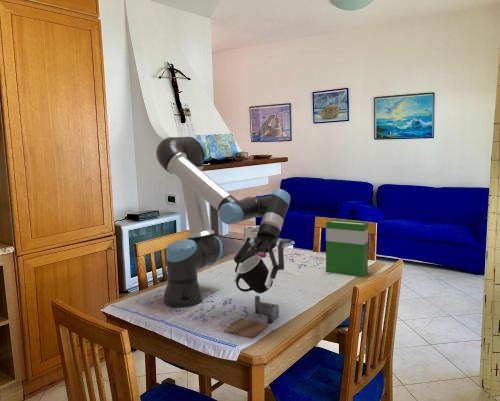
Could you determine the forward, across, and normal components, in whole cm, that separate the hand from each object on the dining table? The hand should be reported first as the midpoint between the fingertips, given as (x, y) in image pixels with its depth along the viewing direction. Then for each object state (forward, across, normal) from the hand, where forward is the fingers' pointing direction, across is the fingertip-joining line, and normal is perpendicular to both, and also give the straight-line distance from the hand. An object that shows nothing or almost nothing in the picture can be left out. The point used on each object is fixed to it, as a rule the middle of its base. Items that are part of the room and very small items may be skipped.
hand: (251, 284), depth 146 cm
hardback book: (-40, -13, -64) cm, 76 cm away
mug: (-1, -2, -5) cm, 6 cm away
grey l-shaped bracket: (+3, +1, -20) cm, 20 cm away
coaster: (+11, +2, -11) cm, 16 cm away
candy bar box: (-47, +39, -71) cm, 93 cm away
